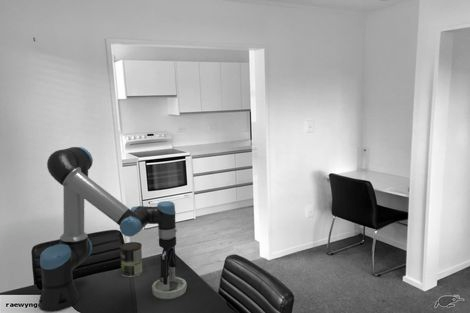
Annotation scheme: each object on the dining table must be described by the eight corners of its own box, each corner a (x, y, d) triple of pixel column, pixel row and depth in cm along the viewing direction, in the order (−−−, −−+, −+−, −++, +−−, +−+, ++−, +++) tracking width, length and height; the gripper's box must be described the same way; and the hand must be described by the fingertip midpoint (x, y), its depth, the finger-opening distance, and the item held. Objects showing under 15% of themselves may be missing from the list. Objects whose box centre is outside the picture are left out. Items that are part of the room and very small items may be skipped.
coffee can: (123, 279, 177) (122, 251, 175) (119, 271, 186) (118, 244, 184) (145, 274, 181) (143, 247, 180) (140, 266, 190) (138, 240, 189)
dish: (147, 298, 159) (147, 291, 158) (158, 282, 173) (158, 276, 173) (181, 300, 157) (181, 293, 156) (189, 283, 171) (189, 277, 171)
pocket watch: (174, 291, 160) (174, 269, 159) (156, 289, 162) (155, 268, 160) (181, 282, 168) (180, 261, 167) (164, 281, 170) (163, 260, 168)
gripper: (168, 245, 151) (170, 297, 154) (181, 229, 171) (183, 275, 175) (151, 245, 152) (153, 297, 155) (166, 228, 172) (168, 274, 175)
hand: (169, 285), depth 165 cm, fingers closed on pocket watch, 8 cm apart
